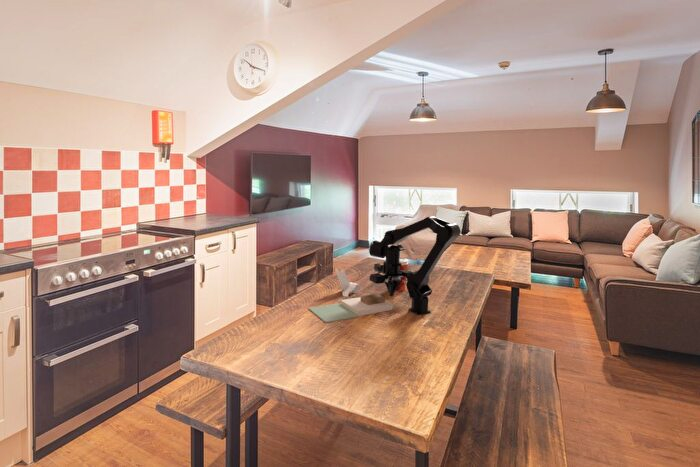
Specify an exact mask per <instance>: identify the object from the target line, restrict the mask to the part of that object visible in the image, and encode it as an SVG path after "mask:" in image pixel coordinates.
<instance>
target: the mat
mask: <svg viewBox="0 0 700 467" xmlns="http://www.w3.org/2000/svg"><path fill="white" fill-rule="evenodd" d="M308 310H309V311H310V312H312V313H313V314H314V315H316V316H317V317H318V318H319V319H320V320H322V322H324V323H331V322H332V323H333V322H339V321H342V320H349V319H355V318H359V317H360V316H359V315H357V314H356V313H354V312H352V311H351V310H349V309H348V308H346V307H345V306H343V305H342V304H341V302H340V303H339V302H337V303H332V304H326V305H318V306H312V307H308Z"/></svg>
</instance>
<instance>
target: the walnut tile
mask: <svg viewBox="0 0 700 467" xmlns="http://www.w3.org/2000/svg"><path fill="white" fill-rule="evenodd" d="M360 297H361V301H362V302H364V303H365V304H367V305H372V304H378V303H385V301H386V297H385V296H383V295H381V294H379V293H372V294H366V295H365V294H364V295H361V296H360Z"/></svg>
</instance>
